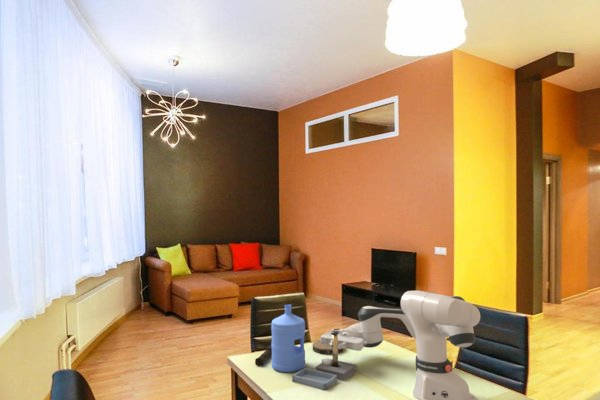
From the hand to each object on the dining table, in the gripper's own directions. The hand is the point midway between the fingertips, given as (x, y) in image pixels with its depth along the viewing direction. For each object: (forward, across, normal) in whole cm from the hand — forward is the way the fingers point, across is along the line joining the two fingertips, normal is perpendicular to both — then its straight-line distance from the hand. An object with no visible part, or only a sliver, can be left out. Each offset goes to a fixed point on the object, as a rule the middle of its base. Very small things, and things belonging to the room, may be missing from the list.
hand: (334, 346), depth 176 cm
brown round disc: (-26, +18, -12) cm, 34 cm away
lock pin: (-1, 0, -10) cm, 10 cm away
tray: (+12, +3, -12) cm, 17 cm away
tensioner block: (-1, 0, -12) cm, 12 cm away
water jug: (+4, +22, -12) cm, 25 cm away
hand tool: (+2, +37, -12) cm, 39 cm away
